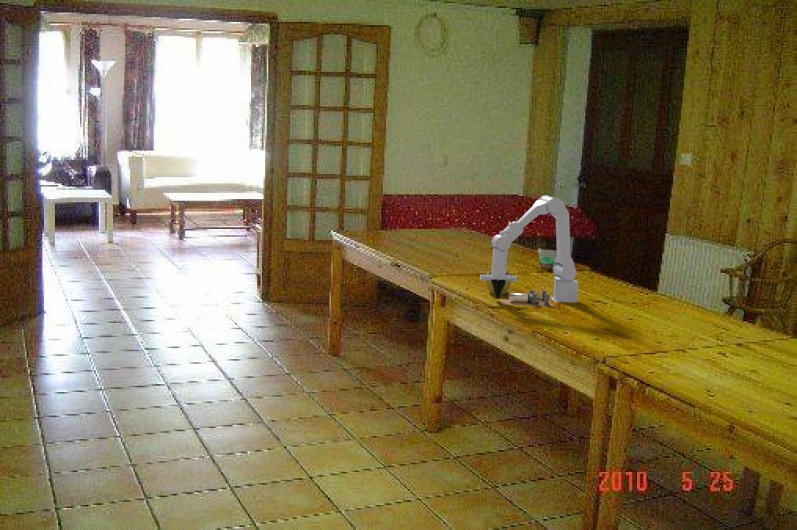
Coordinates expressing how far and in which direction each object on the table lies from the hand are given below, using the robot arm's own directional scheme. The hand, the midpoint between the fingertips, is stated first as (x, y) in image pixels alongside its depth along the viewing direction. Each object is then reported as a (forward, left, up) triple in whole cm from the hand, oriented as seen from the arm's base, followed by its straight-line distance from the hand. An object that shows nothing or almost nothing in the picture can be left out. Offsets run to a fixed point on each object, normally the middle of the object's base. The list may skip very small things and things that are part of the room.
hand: (497, 298), depth 329 cm
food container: (-36, -74, -2) cm, 82 cm away
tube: (-11, 0, -1) cm, 11 cm away
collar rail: (-17, 0, -2) cm, 17 cm away
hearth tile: (-12, 0, -2) cm, 12 cm away
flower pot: (-3, -16, -2) cm, 16 cm away
